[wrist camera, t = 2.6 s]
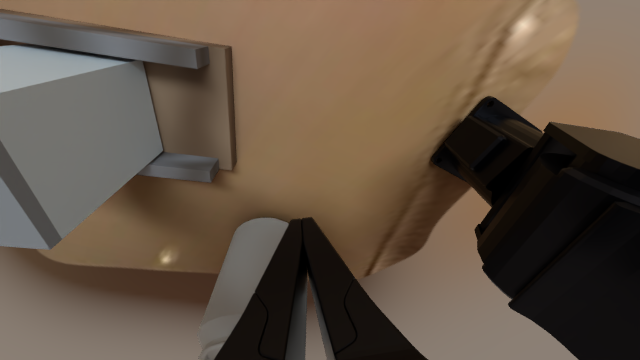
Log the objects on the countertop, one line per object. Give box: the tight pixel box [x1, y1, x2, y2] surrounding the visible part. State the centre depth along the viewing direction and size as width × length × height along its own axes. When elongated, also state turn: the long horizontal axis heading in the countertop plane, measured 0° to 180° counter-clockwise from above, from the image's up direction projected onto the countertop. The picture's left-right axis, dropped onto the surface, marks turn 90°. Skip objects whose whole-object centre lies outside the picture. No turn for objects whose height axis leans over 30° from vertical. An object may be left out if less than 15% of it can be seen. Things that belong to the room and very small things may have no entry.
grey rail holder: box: [0, 9, 237, 183], centre depth 16 cm, size 16×9×4 cm, turn 81°
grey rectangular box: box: [0, 44, 163, 250], centre depth 13 cm, size 6×6×10 cm
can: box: [197, 218, 289, 360], centre depth 22 cm, size 8×8×12 cm
